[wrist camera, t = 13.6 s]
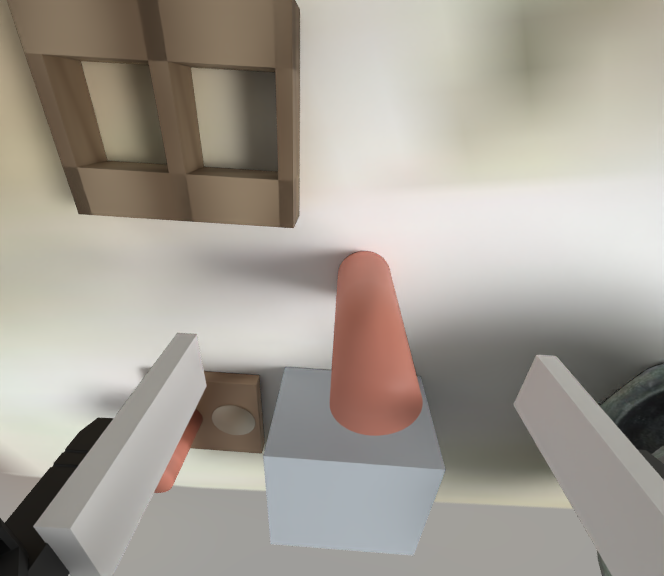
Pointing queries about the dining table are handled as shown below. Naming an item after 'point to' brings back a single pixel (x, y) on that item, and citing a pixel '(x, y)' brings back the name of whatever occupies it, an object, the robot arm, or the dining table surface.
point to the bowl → (639, 417)
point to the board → (221, 421)
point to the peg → (371, 352)
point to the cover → (346, 474)
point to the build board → (166, 101)
